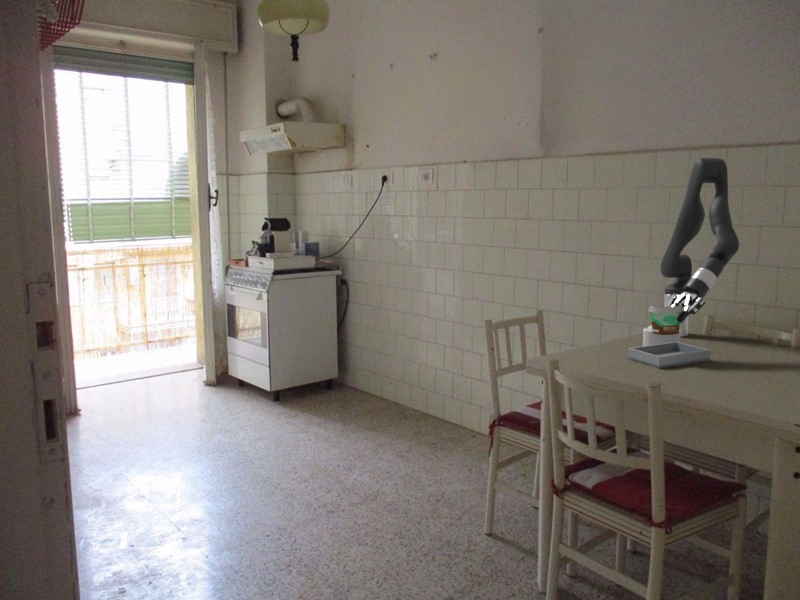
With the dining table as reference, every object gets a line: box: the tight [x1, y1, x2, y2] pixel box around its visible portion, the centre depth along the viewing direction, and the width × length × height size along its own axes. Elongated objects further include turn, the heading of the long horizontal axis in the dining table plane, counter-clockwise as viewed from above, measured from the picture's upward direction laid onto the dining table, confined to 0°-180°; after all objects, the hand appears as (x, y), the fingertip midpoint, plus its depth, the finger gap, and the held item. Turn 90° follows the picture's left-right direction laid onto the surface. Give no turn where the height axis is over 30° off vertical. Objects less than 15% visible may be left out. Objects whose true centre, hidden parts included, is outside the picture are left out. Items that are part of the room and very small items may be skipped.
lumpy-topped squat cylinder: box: [642, 324, 682, 346], centre depth 256 cm, size 10×13×9 cm
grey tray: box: [627, 341, 711, 369], centre depth 237 cm, size 16×22×4 cm
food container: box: [648, 304, 683, 335], centre depth 234 cm, size 12×6×10 cm, turn 101°
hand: (673, 320), depth 235 cm, fingers closed on food container, 5 cm apart
